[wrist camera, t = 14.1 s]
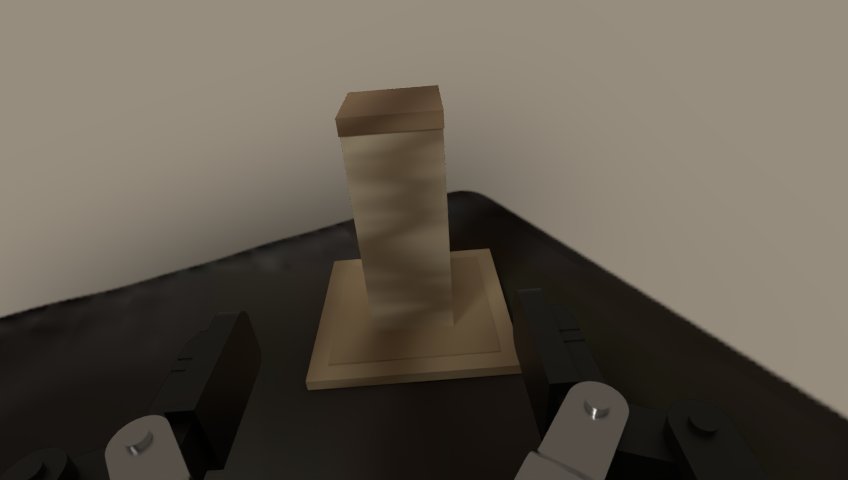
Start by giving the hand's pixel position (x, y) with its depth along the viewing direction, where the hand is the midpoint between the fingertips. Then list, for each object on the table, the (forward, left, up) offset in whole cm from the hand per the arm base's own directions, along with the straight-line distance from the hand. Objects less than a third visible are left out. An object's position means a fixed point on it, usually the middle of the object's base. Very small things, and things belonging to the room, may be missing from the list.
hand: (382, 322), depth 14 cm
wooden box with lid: (0, +11, -8) cm, 14 cm away
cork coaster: (0, +11, -9) cm, 14 cm away
